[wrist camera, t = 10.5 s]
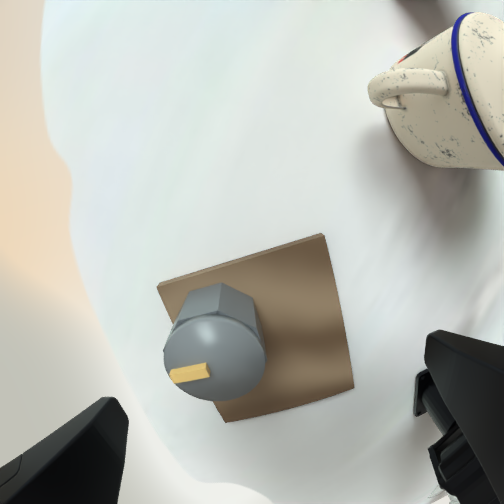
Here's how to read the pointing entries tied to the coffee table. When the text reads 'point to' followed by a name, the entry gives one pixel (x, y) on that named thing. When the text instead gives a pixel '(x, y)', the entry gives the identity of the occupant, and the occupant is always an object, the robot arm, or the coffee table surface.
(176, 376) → the knob
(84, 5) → the coffee table surface
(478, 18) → the teacup with lid
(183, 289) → the base plate
